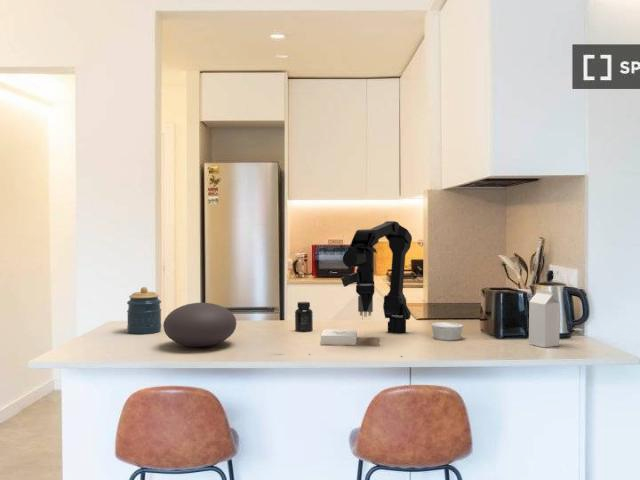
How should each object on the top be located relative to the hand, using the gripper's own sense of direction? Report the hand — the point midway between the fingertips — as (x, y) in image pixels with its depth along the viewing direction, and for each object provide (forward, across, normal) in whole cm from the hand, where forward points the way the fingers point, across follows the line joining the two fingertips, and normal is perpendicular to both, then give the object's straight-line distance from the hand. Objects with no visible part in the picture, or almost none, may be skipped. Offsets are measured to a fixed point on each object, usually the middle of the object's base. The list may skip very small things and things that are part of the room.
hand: (365, 310), depth 210 cm
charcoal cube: (+2, 0, 0) cm, 2 cm away
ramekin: (+12, -14, +30) cm, 35 cm away
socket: (+11, 0, -9) cm, 14 cm away
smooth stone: (+12, +6, -57) cm, 59 cm away
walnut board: (+12, 0, -5) cm, 13 cm away
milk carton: (+12, -4, +62) cm, 63 cm away
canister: (+12, -19, -87) cm, 90 cm away
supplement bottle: (+12, -20, -24) cm, 34 cm away
